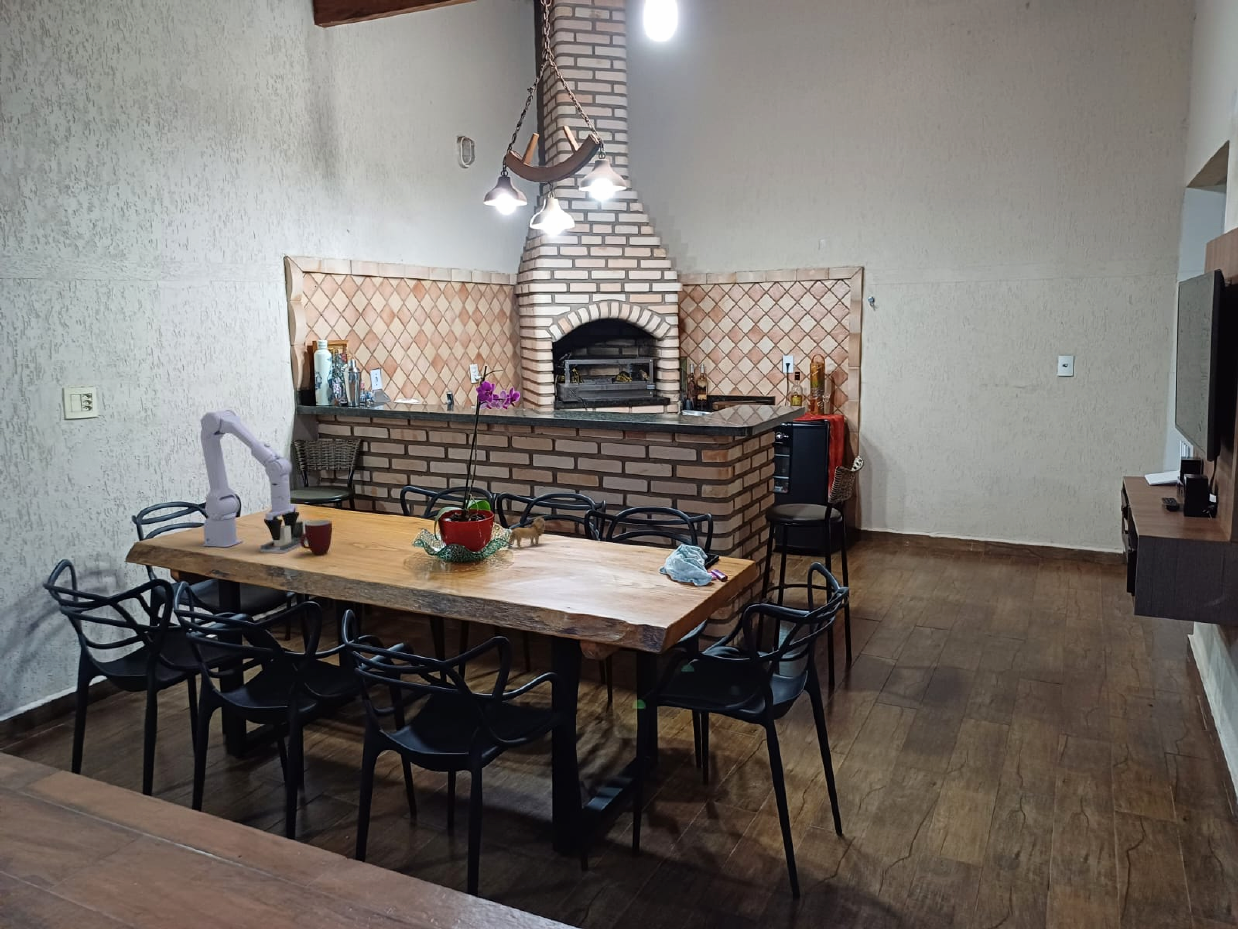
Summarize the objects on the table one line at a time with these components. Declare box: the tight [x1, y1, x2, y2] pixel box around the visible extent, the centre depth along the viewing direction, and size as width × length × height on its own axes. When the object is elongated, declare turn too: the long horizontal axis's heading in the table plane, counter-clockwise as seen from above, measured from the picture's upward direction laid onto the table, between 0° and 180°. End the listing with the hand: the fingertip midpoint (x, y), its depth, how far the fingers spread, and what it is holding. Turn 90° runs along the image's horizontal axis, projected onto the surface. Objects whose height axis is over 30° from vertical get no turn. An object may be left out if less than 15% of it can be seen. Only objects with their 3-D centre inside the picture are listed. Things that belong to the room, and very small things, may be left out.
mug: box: [300, 519, 333, 556], centre depth 276 cm, size 11×8×10 cm
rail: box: [260, 518, 310, 554], centre depth 288 cm, size 8×19×7 cm, turn 168°
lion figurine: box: [506, 517, 546, 550], centre depth 285 cm, size 15×5×9 cm, turn 131°
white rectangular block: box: [273, 524, 291, 546], centre depth 284 cm, size 4×4×6 cm
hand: (283, 537), depth 285 cm, fingers open, 7 cm apart
